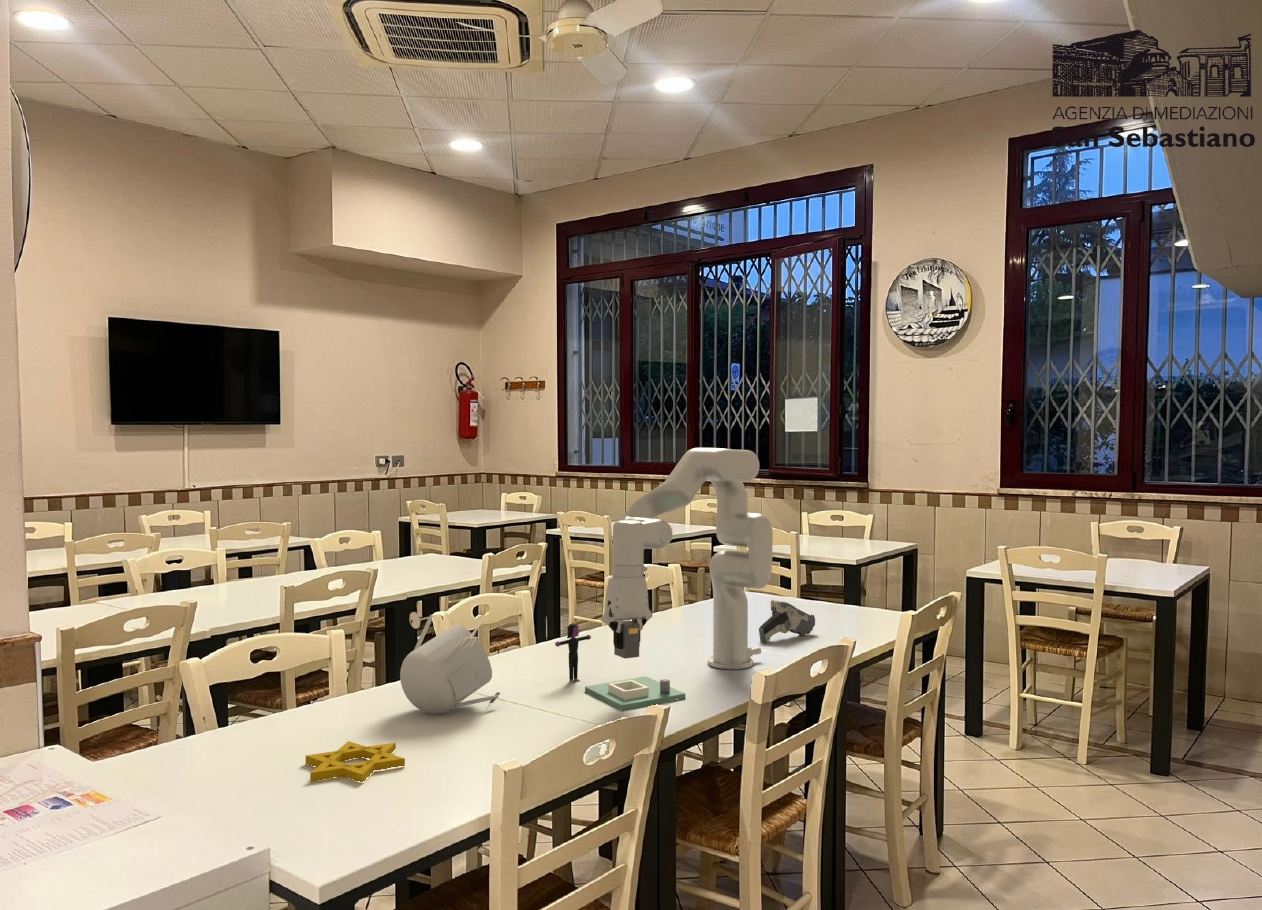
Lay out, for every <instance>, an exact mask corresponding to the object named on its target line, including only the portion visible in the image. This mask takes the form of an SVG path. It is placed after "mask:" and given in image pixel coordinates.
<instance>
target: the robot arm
mask: <svg viewBox="0 0 1262 910" xmlns="http://www.w3.org/2000/svg"><path fill="white" fill-rule="evenodd" d="M683 454H684V455H682V457H681V459H680V460H679V461H678V462H677V464H676V465H675V467H674V468H673V470H672V471H671V472H670V474H669V475H668V476H667V478H666V479H665V480H664V481H663V483H661V485H658V486H656V487H655V488H654V489H652V490H650V491H648V492H647V493H646V494H644V495H642V496H641V497H639V498H638V499H636V500H635V501H634V502H633V503H631V505H630V506H629V508H628V509H627V511H626V512H625V513H624V515H623V516H622V517H621V519H620V520H617V521H615V522H614V523H613V525H612V558H611V559H612V565H611V566H612V571H611V574H612V575H611V576H610V577H608V582H607V586H606V591H605V599H604V613H603V615H602V616H601V618H600V621H601V622H603V623H604V624H605V625H607V626H608V627H609V628H610V630H611V631H612V632H613V633H612V634H613V636H612V637H613V640H612V641H613V642H612V643H613V648H614V647H615V648H618V649H623V633H622V632H621V629H622V624H623V621H625V620H631V621H633V622H636V623H639V624H640V632H639V648H640V643H641V633H642V632H641V631H642V630H643V629H644V626H645V625H646V624H647V622H648V621H650V619H652V618H653V615H654V614H653V613H652V611H651V609H650V608H649V607H650V606H649V591H648V584H647V578H646V576H644V572H647V571H648V566H647V565H645V564H644V559H645V558H644V550H645V549H647V550H648V549H649V550H651V549H652V550H660V549H663V548H666V547H667V546H668V545H669V544H670V543H671V541H672V539H673V529H672V525H670V523H668V522H667V521H665V520H664V519H660V518H656V517H658V516H661V515H663V514H666V513H670V512H674V511H677V510H680V509H682V508H684V507H687V506H688V505H690V503H691V502H692V500H694V498H695V496H696V495H697V493H698V492H699V490H700V489H701V487H702V486H703V484H704V483H705V482H706V481H709V482H710V483H711V484H712V487H713V488H714V491H715V494H716V524H715V525H716V526H715V527H716V528H715V529H716V530H715V531H716V532H715V533H716V538H717V540H718V541H719V543H721V544H723V545H726V546H732V547H740V548H741V547H742V548H747V551H748V552H746V551H741V550H740V551H739V550H726V549H725V550H720V551H717V552H716V553H714V555H712V557H711V559H710V561H709V574H710V575H709V576H710V580H711V586H712V597H713V598H712V601H713V603H712V604H713V605H712V606H713V607H712V610H713V613H712V614H713V615H712V618H713V620H712V621H713V622H712V624H713V625H712V626H713V627H712V635H713V636H712V640H713V641H712V647H713V648H712V653H713V654H712V656H709V657H708V658H707V664H708V666H710V667H713V668H716V669H724V670H742V669H748V668H750V667H752V666H753V665H754V660H753V659H752V657H753V656H754V655H756V656H757V655H760V654H762V648H761V647H759V646H757V647H753V648H752V647H751V646H748V645H749V643H748V637H749V636H748V635H749V634H748V633H749V632H748V630H749V629H748V627H749V623H748V621H749V620H748V619H749V617H748V615H749V614H748V613H749V612H748V611H749V609H748V608H749V607H748V606H749V604H748V603H749V602H748V597H747V594H746V592H745V591H744V588H748V589H757V590H758V589H763V588H765V587H767V585H768V584H769V582H770V580H771V576H772V571H773V546H774V545H773V541H774V540H773V539H774V537H773V536H774V533H773V532H774V530H773V527H772V526H773V525H772V523H771V521H770V519H769V518H768V517H767V516H766V515H764V514H761V513H757V512H749V511H748V510H749V509H748V506H749V505H748V492H747V489H746V485H744V483H743V482H745V483H746V482H751V481H753V480H754V479H755V478H756V477H757V476H758V474H759V471H760V460H759V458H758V456H757V454H755V452H754V451H752V450H749V449H733V448H732V449H731V448H723V447H722V448H720V447H719V448H718V447H694V448H691V449H688V450H687V451H686V452H685V453H683ZM611 618H612V620H611Z"/></svg>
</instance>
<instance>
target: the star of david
mask: <svg viewBox="0 0 1262 910" xmlns="http://www.w3.org/2000/svg"><path fill="white" fill-rule="evenodd" d="M396 744H397V742H389V743H382V744H376V745H369V746H365V745H363V744H359V743H356V742H352V741H346V743H344V744H343V745H342V746H341V747H339V748H338V749H337V750H334V751H328V752H319V753H314V754H306V755H305V765H306V764H309V765H312V766H316V767H317V768H315V769H313V770H312V771H310V773H309V776H310V777H309V778H310V781H316V782H319V781H318V780H322V781H324V780H323V779H329V778H333V777H342V778H343V777H347V778H350V779H353V780H355V781H360V782H363V781H365V780H366V778H367V777H369V776H370V774H371V773H373V771H374V770H381V769H387V768H391V767H398V766H405V767H406V763H405V762H406V759H405V757H401V756H398V755H395V754H391V753H392V752H393V751H394V750H395V749H396V748H397V745H396ZM396 750H397V749H396ZM362 757H364V758H369V759H370V760H365V761H361V762H354V763H348V764H347V763H344V762H346V761H345V760H349V759H353V758H362ZM342 761H344V762H342ZM341 762H342V763H341ZM309 765H308V766H309ZM312 766H311V767H312ZM373 774H374V773H373ZM370 777H371V776H370ZM370 777H369V778H370ZM329 780H330V779H329ZM310 781H309V782H310ZM355 781H354V782H355ZM366 781H367V780H366ZM366 781H365V782H366Z"/></svg>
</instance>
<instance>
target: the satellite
mask: <svg viewBox="0 0 1262 910" xmlns="http://www.w3.org/2000/svg"><path fill="white" fill-rule="evenodd" d="M433 618H436V615H433V614H429V616H427V617H421V618H420V616H419V614H418V613H417V612H416V611H413V612H411V613H410V614H409V623H410V625H411V627H412V628H413V629H419V628H420V625H421V621H422V620H426V622H425V625H424V626H423V629H422V630H421V634H420V636H419V638H418V640H417V642H416V645H415V647H414V649H413V650H412V651H411V652H409V653H408V654H407V655H406V657H405V658H404V659H403V661H402V664H401V667H400V670H399V671H400V672H399V674H400V676H399V678H400V679H399V680H400V685H401V688H402V691H403V693H404V695H405V697H406V699H407V700H408V701H409V702H410V703H411V704H412V706H414V707H415V708H416V709H418V710H419V711H421V712H423V713H425V714H431V715H439V714H440V715H441V714H444V713H446V712H448V711H450V710H451V709H453V708H456V709H457V708H461V707H465V706H469V705H474V704H479V703H483V702H489V703H488V705H487V707H486V708H485V710H484V711H483V713H482V714H483V715H484V714H485V713H486V711H487V710H488V709H489V707H490V706H491V704H494V702H495V701H496V700H497V699H498V698H499V695H501V692H498V691H497V692H495V694H493V695H490V696H484V697H479V698H475V699H470V700H466V701H465V699H467V698H468V697H470V696H472V694H474V693H475V692H477V691H478V690H480V689H481V688H482V687H484V686H485V685H487V684H488V683H489V682H490V681H491V680H492V678H493V669H492V665H491V662H490V659H489V657H488V655H487V653H486V651H485V649H484V648H483V646H482V643H480V641H479V640H478V639H479V638H480V637H478V636H476V634H477V631H478V630H479V628H480V627H481V626H482V625H483V621H480V622H479V624H478V625H477V627H476V628H475V629H474V631H472V632H471V631H470V630H469V629H468V628H466V627H464V626H463V625H460V624H454V625H451V626H450V627H448V628H447V629H446V630H444V631H442V632H441V633H439V634H438V635H436V636H435V637H433V638H431V639H430V640H428V641H426V642H425V643H423V641H424V640H425V639H424V638H425V636H426V634H427V631H428V630H429V628H430V625H431V624H432V620H433ZM422 643H423V644H422Z"/></svg>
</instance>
